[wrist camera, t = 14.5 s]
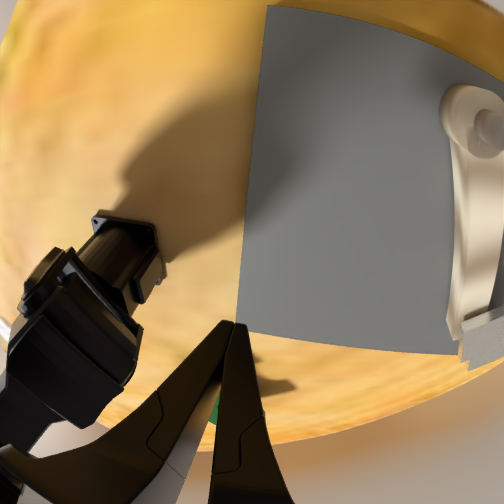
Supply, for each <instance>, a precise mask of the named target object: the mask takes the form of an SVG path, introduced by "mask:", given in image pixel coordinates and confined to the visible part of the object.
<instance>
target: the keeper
mask: <svg viewBox="0 0 504 504" xmlns="http://www.w3.org/2000/svg"><path fill="white" fill-rule="evenodd" d="M458 340H459V350H458V356H459V359H460V363H462V362H464V361H465V363H466V367H467V371H470V370H473V369H476V368H478V367H481V366H483V365H485V364H488V363H490V362H492V361H495V360H497V359H499V358H501V357H504V305H502V306H500V307H498V308H495V309H493V310H491V311H488V312H486V313H484V314H481V315H479V316H476V317H474V318H471V319H469V320H466V321H464V322H461V323H460V337H459V339H458Z"/></svg>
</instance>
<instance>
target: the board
mask: <svg viewBox="0 0 504 504" xmlns="http://www.w3.org/2000/svg"><path fill="white" fill-rule="evenodd" d="M456 84H467V85H471V86H475V87H479V88H482V89H486V90H489V91H492V92H493V93H495V94H496V95H498V96H499V97H500V98H501V99H502V101H503V102H504V83H503V82H501V81H499V80H498V79H496V78H495V77H493V76H491V75H490V74H488V73H486V72H485V71H483V70H481V69H479V68H478V67H476V66H474V65H472V64H470V63H469V62H467V61H465V60H463V59H461V58H459V57H457V56H455V55H453V54H451V53H449V52H446V51H444V50H442V49H440V48H438V47H435V46H433V45H431V44H428V43H426V42H424V41H421V40H419V39H416V38H413V37H411V36H408V35H405V34H403V33H400V32H397V31H394V30H391V29H388V28H385V27H381V26H378V25H375V24H371V23H368V22H364V21H360V20H356V19H352V18H348V17H344V16H339V15H334V14H330V13H324V12H319V11H313V10H306V9H299V8H292V7H283V6H272V5H268V6H267V14H266V23H265V31H264V40H263V49H262V58H261V67H260V76H259V85H258V95H257V104H256V114H255V123H254V133H253V143H252V152H251V162H250V172H249V183H248V193H247V203H246V214H245V224H244V235H243V245H242V256H241V267H240V278H239V290H238V301H237V312H236V322H238V323H243V324H246V325H247V327H248V331H251V332H256V333H261V334H267V335H273V336H278V337H284V338H290V339H296V340H303V341H310V342H316V343H323V344H331V345H338V346H346V347H355V348H364V349H373V350H383V351H395V352H407V353H422V354H441V355H458V350H459V340H454V341H453V340H452V337H451V333H450V330H449V327H448V324H447V321H446V317H447V311H448V304H449V297H450V288H451V279H452V268H453V254H454V229H455V206H454V180H453V167H452V156H451V147H450V139H449V137H448V136H447V135H446V134H445V132H444V130H443V128H442V126H441V123H440V118H439V106H440V101H441V98H442V96H443V95H444V93H445V92H446V91H447V90H448V89H449V88H450V87H452V86H454V85H456ZM502 305H504V229H503V237H502V244H501V251H500V257H499V262H498V268H497V273H496V277H495V282H494V286H493V291H492V295H491V299H490V303H489V306H488V310H487V312H488V311H491V310H493V309H495V308H498V307H500V306H502Z"/></svg>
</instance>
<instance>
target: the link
mask: <svg viewBox="0 0 504 504" xmlns="http://www.w3.org/2000/svg"><path fill="white" fill-rule="evenodd" d="M439 118H440V123H441V126H442V128H443V130H444V132H445V134H446V135H447V136H448V137H449V139H450V147H451V156H452V167H453V180H454V206H455V229H454V254H453V268H452V279H451V288H450V297H449V304H448V311H447V317H446V321H447V324H448V327H449V330H450V333H451V337H452V340H453V341H454V340H458V339H459V337H460V323H461V322H464V321H466V320H469V319H471V318H474V317H476V316H479V315H481V314H484V313H486V312H487V310H488V306H489V303H490V299H491V295H492V291H493V286H494V282H495V277H496V273H497V268H498V262H499V257H500V251H501V244H502V237H503V229H504V102H503V101H502V99H501V98H500V97H499V96H498V95H496V94H495V93H493V92H492V91H489V90H486V89H482V88H479V87H475V86H471V85H467V84H456V85H454V86H452V87H450V88H449V89H448V90H447V91H446V92H445V93H444V95H443V96H442V98H441V101H440V106H439Z"/></svg>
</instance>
